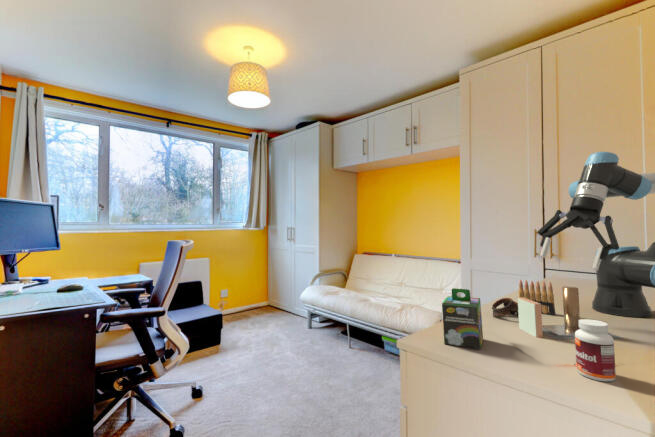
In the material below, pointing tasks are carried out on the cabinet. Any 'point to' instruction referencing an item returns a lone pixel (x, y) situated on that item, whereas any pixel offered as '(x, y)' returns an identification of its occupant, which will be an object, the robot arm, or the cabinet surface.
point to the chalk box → (462, 320)
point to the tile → (530, 316)
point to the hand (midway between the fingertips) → (567, 262)
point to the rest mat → (574, 337)
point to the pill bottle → (595, 351)
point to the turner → (567, 314)
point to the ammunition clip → (539, 296)
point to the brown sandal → (509, 308)
